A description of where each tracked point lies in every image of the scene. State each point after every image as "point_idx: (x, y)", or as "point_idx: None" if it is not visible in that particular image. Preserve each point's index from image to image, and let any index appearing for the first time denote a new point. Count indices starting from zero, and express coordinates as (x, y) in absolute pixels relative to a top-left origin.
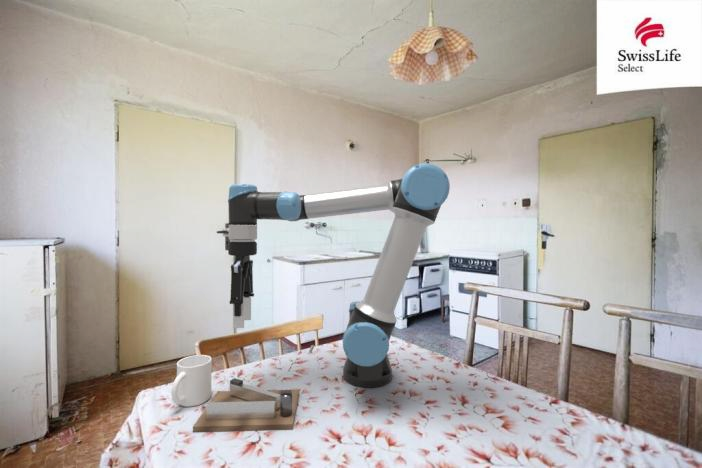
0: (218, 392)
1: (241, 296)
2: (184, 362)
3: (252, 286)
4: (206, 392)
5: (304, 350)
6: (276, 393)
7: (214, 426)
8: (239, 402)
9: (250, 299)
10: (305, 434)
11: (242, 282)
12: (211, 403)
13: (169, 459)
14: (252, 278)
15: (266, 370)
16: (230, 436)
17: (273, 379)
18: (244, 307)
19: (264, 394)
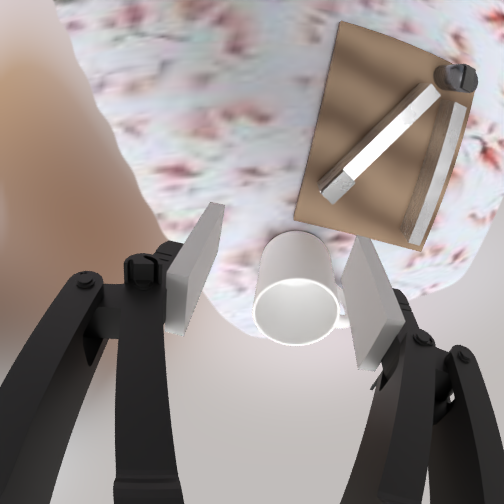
0: (301, 217)
1: (431, 373)
2: (270, 328)
3: (63, 307)
4: (320, 246)
5: (62, 17)
6: (423, 91)
7: (435, 216)
8: (434, 180)
9: (191, 268)
10: (488, 61)
11: (420, 471)
12: (415, 236)
13: (464, 267)
14: (20, 365)
15: (170, 102)
16: (455, 186)
17: (234, 79)
18: (203, 273)
19: (416, 119)
